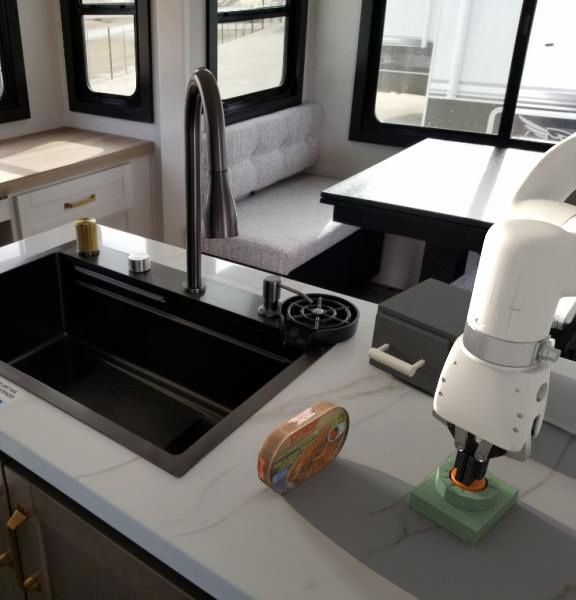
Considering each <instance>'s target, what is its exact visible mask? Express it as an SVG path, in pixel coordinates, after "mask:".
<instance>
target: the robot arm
mask: <svg viewBox="0 0 576 600" xmlns="http://www.w3.org/2000/svg"><path fill="white" fill-rule="evenodd" d="M575 190H576V132H574V133H572V134H570V135H569V136H566V138H564V139H562V140H561V141H559V142H557V143H556V144H555V145H553V146H552V147H550V148H549V149H548V150H547V151H545V152H544V153H543V154H542V155H541V156H540V157H538V159H537V160H536V161H535V162H534V163H533V164H532V165H531V166H530V167H529V168H528V170H527V171H526V173H525V174H524V175H523V177H522V178H521V180H520V181H519V182H518V184H517V185H516V187H515V188H514V189H513V190H512V192H511V193H510V196H508V198H507V199H506V200H505V202H504V204H503V206H502V208H501V209H500V211H499V213H498V215H497V217H496V220H495V223H493V224H492V225H491V227H490V228H489V229H488V231H487V233H486V234H485V238H484V240H483V245H482V249H481V254H480V258H479V263H478V267H477V270H476V271H477V272H476V276H475V280H474V285H473V289H472V292H473V294H472V298H471V303H470V308H469V312H468V316H467V320H466V325H465V329H464V333H463V334H462V335H461V336H459V337H458V338H457V340H456V341H455V343H454V345H453V347H452V349H451V351H450V353H449V356H448V358H447V360H446V363H445V365H444V368H443V370H442V373H441V376H440V379H439V382H438V386H437V389H436V393H435V395H434V398H433V409H432V410H431V411H432V412H431V415H432V416H433V417H434V418H435V419H436V420H437V421H439V422H440V423H441V424H443V425H444V426H446V427H447V429H448V431H449V433H450V434H451V436H452V438H453V440H454V443H453V444H454V448H455V449H456V450H457V451H456V454H455V455H456V459H455V463H454V467H455V468H457V470H456V474H455V478H454V479H455V480H457V481H458V482H460V481H461V482H463V484H464V485H465V486H467V487H469V486H470V485H471V484H472V483H473V482H474V481H475V480H476V479H477V480H478V481H480V480H481V479H483V477H484V476H485V474H486V471H487V469H488V467H489V462H490V461H491V459H495V458H499V457H503V456H504V457H506V458H507V459H511V460H513V461H514V460H515V461H517V462H522V463H524V462H527V460H528V459H529V458H530V457H531V456H532V439H533V440H534V439H536V438H537V437H538V436H539V433H540V431H541V428H542V425H543V421H544V417H545V412H546V407H547V403H548V402H547V401H548V395H549V388H550V379H551V370H550V362H549V361H552V362H553V364H555V363H557V362H558V360H559V359H560V357H561V353H562V350H560V349H558V348H555V346H554V347H553V346H551V345H550V338H551V337H552V335H551V334H550V332H551V328H552V325H553V321H554V318H555V316H556V315H555V314H556V312H557V308H558V305H559V302H560V301H561V299H563V298H568V297H569V298H572V297H574V298H575V297H576V205H574V204H570V203H567V202H565V201H566V200H567V199H568V198H569V196H570V195H571V194H573V193H574V191H575ZM478 438H480V439H481V440H480V442H477V439H478Z"/></svg>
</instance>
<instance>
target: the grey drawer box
mask: <svg viewBox="0 0 576 600" xmlns="http://www.w3.org/2000/svg"><path fill="white" fill-rule="evenodd" d="M472 294H473V291H469V290H467V289H464V288H461V287H458V286H455V285H452V284H450V283H446V282H444V281H441V280H438V279H435V278H432V277H430V278H427V279H426V280H423V281H421V282H420V283H417V284H415V285H413V286H412V287H410V288H407V289H406V290H404V291H402V292H400V293H398V294H395V295H394V296H392V297H390V298H388V299H386V300H383V301H382V302H380V303H378V304H377V311H376V314H377V313H379V312H383V313H386V314H388V315H392V316H395V317H397V318H400V319H402V320H404V321H407V322H409V323H412V324H414V325H417V326H419V327H421V328H424V329H426V330H429V331H431V332H434V333H436V334H439V335H441V336H443V337H446V338H448V339H449V340H451V342H450V346H449V351H448V356H449V353H450V351H451V349H452V347H453V345H454V343H455V341H456V340H457V338H458V337H459V336H461V335H462V334H463V333H464V329H465V325H466V320H467V316H468V312H469V308H470V303H471V298H472ZM448 356H447V358H448ZM370 365H372V366H373V367H376V368H377V369H380V370H382V371H384V372H386V373H388V374H390V375H392V376H394V377H395V378H396V377H397V376H395V375H393V374H391V373H389V372H387V371H385V370H383V369H381V368H379V367H377V366H375V365H373V364H370ZM397 378H398V379H400V380H403V379H401V378H399V377H397ZM403 381H404V382H407V383H408V384H411V385H413V386H415V387H417V388H419V389H420V390H423V391H425V392H427V393H429V394H431V395H433V396H435V395H434V394H432V393H430V392H428V391H426V390H424V389H422V388H420V387H418V386H416V385H414V384H412V383H410V382H408V381H406V380H403Z"/></svg>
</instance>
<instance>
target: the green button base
mask: <svg viewBox="0 0 576 600" xmlns="http://www.w3.org/2000/svg"><path fill="white" fill-rule="evenodd" d="M456 455H457V454H455V455H453V456H452V457H451V458H450V459H448V460H446V461H444V462H442V464H440V465H439V466H438V467H437V469H436V470H435V471H434V472H433V473H431V475H429V476H427V478H425V479H424V480H422V482H420V483H419V484H418V485H417V486H416V487H415V488H413V489H412V490H411V491H410V494H409V499H408V504H407V505H408V507H410V508H412V509H413V510H415V511H416V512H418V513H419V514H421V515H422V516H425V517H426V518H427V519H429V520H431V521H432V522H434V523H435V524H437V525H439V526H440V527H441V528H443V529H445V530H446V531H448V532H449V533H451V534H453V535H454V536H456V537H457V538H459V539H461V540H462V541H463V542H465V543H466V544H468V545H470V546H472V547H474V546H475V544H477V543H478V542H479V541H480V540H481V538H482V537H483V536H484V535H485V534H487V533H488V531H490V530H491V528H492V527H494V525H496V523H498V522H499V520H500V519H501V518H502V517H503V516H505V515H506V513H507V512H508V511H509V510H510V509H512V507H513V506H514V505H515V504H516V503H517V499H518V496H519V493H520V488H518V487H516V486H514V485H512V484H511V483H508V482H507V481H505V480H503V479H501V478H499V477H497V476H496V475H494V474H493V473H492V471H491V470H490V469H488V468H487V471H486V474H485V476H484V478H485V481H486V483H485V487H484V490H483V491H478V492H472V491H467V490H463V489H462V488H460V487H458V486H456V485H455V484H454V483H453V482H452V481H451V474H452V471H453V470H454V469H455V467H454V463H455V459H456Z"/></svg>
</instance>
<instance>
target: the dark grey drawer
mask: <svg viewBox="0 0 576 600" xmlns="http://www.w3.org/2000/svg"><path fill="white" fill-rule="evenodd" d="M372 332H373V333H372V340H371V346H370V349H369V351H368V354H367V356H368V358H369V360H368V363H369V365H371V364H373V365H375V366H377V367H376V368H378V367H379V368H378V369H380V368H381V369H380V370H382V369H383V370H382V371H384V370H385V371H384V372H386V371H387V372H386V373H388V372H389V373H388V374H390V373H391V374H390V375H392V374H393V375H392V376H394V375H395V376H394V377H396V376H397V378H398V377H399V378H398V379H400V378H401V379H400V380H402V379H403V381H404V380H406V381H408V382H410V383H409V384H411V383H412V384H411V385H413V384H414V385H413V386H415V385H416V386H415V387H417V386H418V387H417V388H419V387H420V388H419V389H421V388H422V389H421V390H423V389H424V390H423V391H425V390H426V391H425V392H427V391H428V392H427V393H429V392H430V393H429V394H431V393H432V394H431V395H433V394H434V395H433V396H435V393H436V389H437V386H438V382H439V379H440V376H441V373H442V370H443V368H444V365H445V363H446V360H447V356H448V351H449V346H450V342H451V340H449V339H448V338H446V337H443V336H441V335H439V334H436V333H434V332H431V331H429V330H426V329H424V328H421V327H419V326H417V325H414V324H412V323H409V322H407V321H404V320H402V319H400V318H397V317H395V316H392V315H388V314H386V313H383V312H379V313H377V312H376V313H375V319H374V326H373V331H372ZM373 365H372V366H373ZM375 366H374V367H375ZM406 381H405V382H406ZM408 382H407V383H408Z"/></svg>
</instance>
